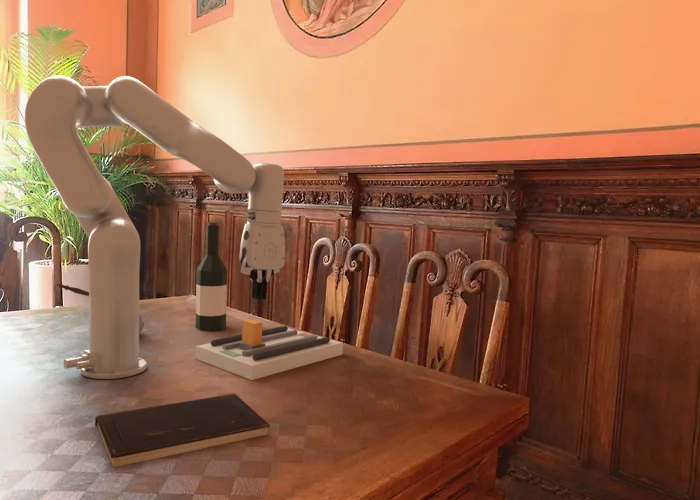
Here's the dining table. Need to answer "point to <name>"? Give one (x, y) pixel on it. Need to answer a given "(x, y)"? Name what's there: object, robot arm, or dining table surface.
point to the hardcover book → (177, 428)
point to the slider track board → (245, 366)
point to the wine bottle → (211, 285)
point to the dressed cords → (274, 351)
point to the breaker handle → (251, 335)
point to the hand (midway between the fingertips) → (258, 298)
